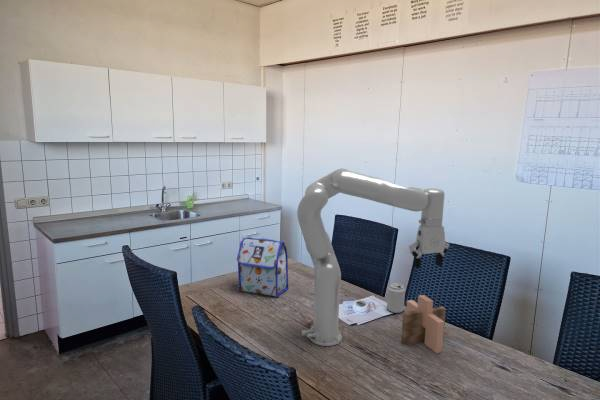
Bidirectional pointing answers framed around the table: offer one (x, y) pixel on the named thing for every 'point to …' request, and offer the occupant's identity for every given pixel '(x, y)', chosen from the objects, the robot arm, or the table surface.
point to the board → (417, 325)
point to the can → (396, 298)
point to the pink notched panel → (429, 322)
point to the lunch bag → (262, 266)
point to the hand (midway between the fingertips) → (427, 266)
